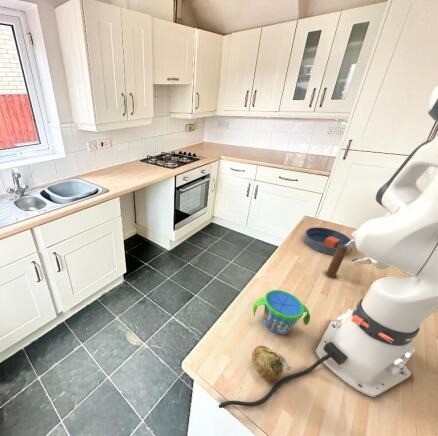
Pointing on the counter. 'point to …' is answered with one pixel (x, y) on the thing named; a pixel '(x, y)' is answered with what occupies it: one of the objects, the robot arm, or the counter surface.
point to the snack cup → (281, 311)
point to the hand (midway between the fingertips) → (348, 255)
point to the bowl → (323, 239)
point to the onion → (268, 363)
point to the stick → (336, 260)
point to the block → (331, 242)
